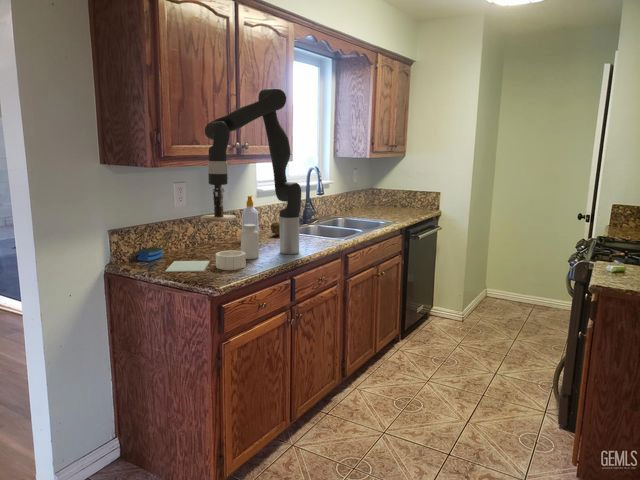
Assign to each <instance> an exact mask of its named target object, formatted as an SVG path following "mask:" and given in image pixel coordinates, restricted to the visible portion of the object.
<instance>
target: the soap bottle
mask: <svg viewBox="0 0 640 480" xmlns="http://www.w3.org/2000/svg"><path fill="white" fill-rule="evenodd" d="M245 224H254V225H256V228H255V230H256V231H257V232H258V233H259V213H258V210H257V208H255V207H254V201H253V195H252V194H251V195H248V196H247V200H246V206H245V208H244V209H243V210H242V212H241V232H242V231H244V225H245Z"/></svg>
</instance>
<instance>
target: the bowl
mask: <svg viewBox="0 0 640 480" xmlns="http://www.w3.org/2000/svg"><path fill="white" fill-rule="evenodd" d="M246 260H247V259H246V253H245V252H243V251H241V250H222V251H218V252H216V253H215V268H217V269H218V270H224V271H235V270H236V271H237V270H241V269H244V268H246V267H247V265H246V264H247V261H246Z"/></svg>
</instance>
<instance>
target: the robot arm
mask: <svg viewBox="0 0 640 480" xmlns="http://www.w3.org/2000/svg"><path fill="white" fill-rule="evenodd" d="M286 103H287V95H286V92H285V91H284V90H282V89H280V88H278V87H277V88H275V87H274V88H273V87H272V88H271V87H270V88H263V89H261V90H260V91H259V93H258V100H257V101H255V102H253V103H250V104H247V105H244V106H242V107H238V108H237V109H234V110H233V111H231V112H230V113H228V114H226V115H225V116H221V117H219V118H217V119H214V120H212V121H210V122H208V123H207V124H206V126H205V127H204V134H205V136H206V137H207V138H208V139H209V140H212V141H213V142H212V145H210V146H209V148H208V167H207V168H208V170H207V171H208V172H207V173H208V176H207V178H208V184H209V185H211V186H214V188H213V189H212V195H213V197H212V198H213V205H214V206H215V215H216V216H221V204H223V205H224V203H223V202H224V188H223V186H226V185H228V183H229V182H228V179H229V178H228V163H227V149H228V145H229V140H230V132H234V131H238V130H239V129H241V128H243V127H244V126H247V124H250V123H252V122H253V121H255V120H257V119H259V118H261V117H262V119H263V124H264V127H265V133H266V137H267V143H268V149H269V155H270V159H271V164H272V165H271V166H272V171H273V182H274V191H275V192H274V193H275V195H276V198H277V200H278V201H280V202H286V207H285V208H283V209H280V210H279V223H280V236H279V253H280V254H283V255H296V254H300V214H301V213H300V212H301V209H302V208H301V207H302V206H301V205H302V187H301V185H300V184H299V183H298V182H293V181H288V180H287V173H286V172H287V166H288V165H289V164H288V162H289V161H290V158H291V147H290V142H289V141H290V140H289V137H288V135H287V134H286V132H285V130H284V128H283V127H282V125H281V124H280V122H279V119H278V116H277V111H279V110H281V109H283V108H284V107H285V106H286ZM214 206H213V207H214Z"/></svg>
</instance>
